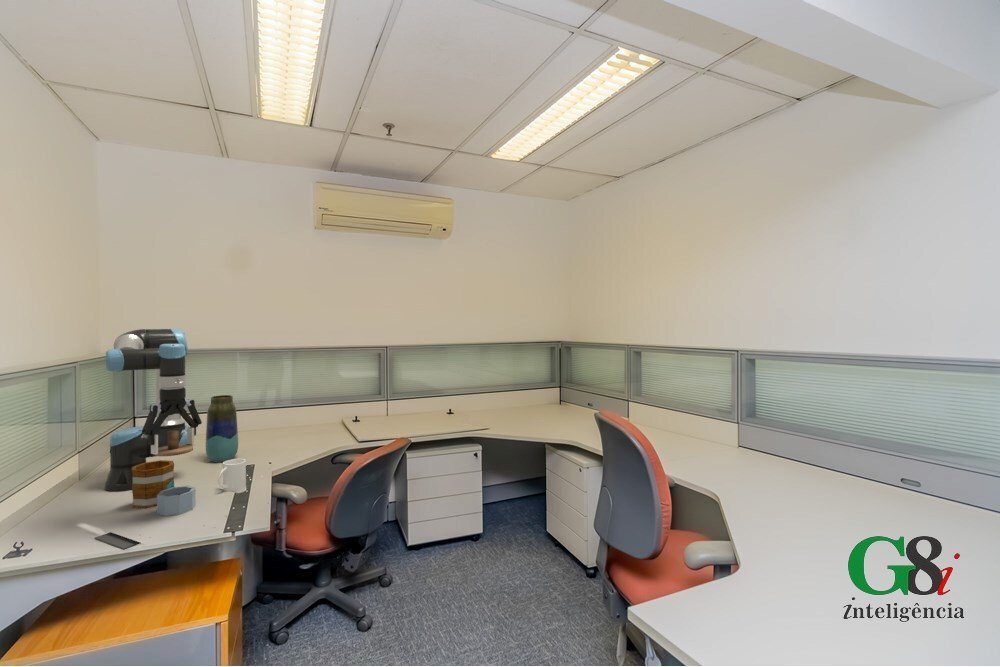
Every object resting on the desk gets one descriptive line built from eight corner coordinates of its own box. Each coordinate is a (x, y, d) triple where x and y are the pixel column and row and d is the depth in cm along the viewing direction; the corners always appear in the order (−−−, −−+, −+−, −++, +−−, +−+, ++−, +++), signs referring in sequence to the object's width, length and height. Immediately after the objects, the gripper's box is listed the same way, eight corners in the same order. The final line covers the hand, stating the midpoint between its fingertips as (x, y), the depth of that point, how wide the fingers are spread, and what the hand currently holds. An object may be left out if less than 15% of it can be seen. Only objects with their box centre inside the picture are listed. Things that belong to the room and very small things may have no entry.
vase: (203, 465, 222) (202, 399, 221) (208, 457, 235) (207, 395, 234) (236, 462, 228) (236, 397, 227) (239, 454, 240) (239, 393, 239)
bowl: (151, 516, 165) (151, 493, 165) (182, 505, 174) (182, 484, 174) (170, 522, 160) (170, 498, 160) (201, 510, 170) (200, 488, 170)
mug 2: (225, 499, 181) (224, 468, 181) (209, 495, 184) (209, 465, 184) (251, 489, 192) (251, 459, 192) (236, 486, 195) (236, 457, 195)
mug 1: (167, 510, 170) (167, 469, 169) (123, 514, 166) (122, 472, 165) (186, 491, 188) (186, 454, 188) (147, 494, 185) (146, 457, 184)
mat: (94, 538, 148) (94, 537, 148) (143, 521, 160) (143, 520, 160) (123, 549, 141) (123, 548, 141) (172, 530, 154) (172, 529, 154)
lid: (145, 453, 162) (145, 433, 162) (179, 445, 173) (179, 426, 173) (166, 458, 158) (166, 436, 158) (200, 449, 168) (200, 429, 168)
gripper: (141, 393, 152) (142, 459, 153) (212, 384, 174) (213, 442, 175) (127, 391, 155) (128, 456, 156) (199, 383, 177) (199, 440, 178)
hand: (173, 449), depth 165 cm, fingers closed on lid, 11 cm apart
